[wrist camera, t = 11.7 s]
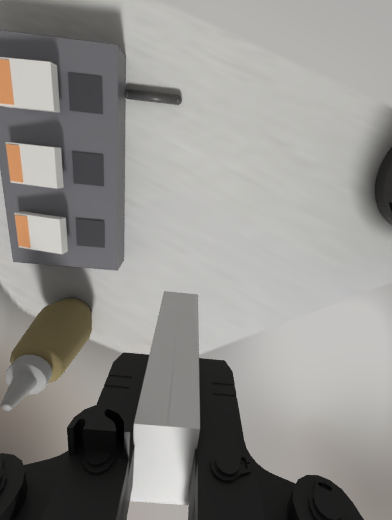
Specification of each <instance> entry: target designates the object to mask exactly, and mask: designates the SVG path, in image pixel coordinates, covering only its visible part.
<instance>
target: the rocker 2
mask: <svg viewBox="0 0 392 520" xmlns="http://www.w3.org/2000/svg"><path fill="white" fill-rule="evenodd" d="M14 214H15V222H16V230H17V237H18V245H19V247H20V248H26V249H33V250H39V251H45V252H51V253H57V254H64V253H66V252H68V246H67V230H66V218H65V217H58V216H51V215H44V214H37V213H30V212H23V211H21V212H16V213H14Z"/></svg>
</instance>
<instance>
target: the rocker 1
mask: <svg viewBox="0 0 392 520" xmlns="http://www.w3.org/2000/svg"><path fill="white" fill-rule="evenodd" d="M0 106H4V107H10V108H19V109H29V110H39V111H49V112H59V113H60V105H59V90H58V74H57V65H55V64H53V63H52V62H47V61H36V60H25V59H15V58H4V57H0Z"/></svg>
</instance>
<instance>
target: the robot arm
mask: <svg viewBox="0 0 392 520" xmlns="http://www.w3.org/2000/svg"><path fill="white" fill-rule="evenodd" d="M375 195H376V202H377V206H378V208H379V211H380V213H381V214H382V216H383V217H384V218H385V220H386V221H387V222H389V223H390V224H391V225H392V148H391V150H390V151H389V152H388V154H387V155H386V157H385V159H384V161H383V163H382V165H381V167H380V169H379V172H378V176H377V180H376V187H375ZM67 435H68V451H67V452H65V453H63V454H61V455H60V456H57V457H54V458H51V459H47V460H44V461H40V462H35V463H31V464H27V465H23V463H22V460H20V459H19V458H17V457H16V456H15V455H11V454H3V453H1V454H0V520H126V519H127V513H128V507H129V502H130V501H137V502H153V503H167V504H181V505H188V502H189V512H188V514H189V515H188V520H364V519H363V518H362V516H361V515H360V513H359V512H358V510H357V508H356V507H355V505H354V504H353V502H352V501H351V500H350V499H349V497H348V496H347V495H346V494H345V493H344V491H343V490H342V489H341V488H339V487H338V486H337V485H335V484H334V483H333V482H332V481H330V480H328V479H326V478H323V477H321V476H318V475H306V476H304V477H302V478H301V479H298V481H297V483H296V484H295V483H293V482H290V481H288V480H286V479H283V478H281V477H279V476H276V475H274V474H272V473H270V472H268V471H266V470H265V469H263V468H262V467H261V466H260V465H258V464H257V463H256V462H255V460H254V459H253V458H252V457H251V456H250V454H249V452H248V450H247V448H246V445H245V442H244V437H243V432H242V425H241V420H240V414H239V408H238V402H237V398H236V390H235V387H234V378H233V373H232V370H231V369H230V367H229V366H228V365H227V363H226V362H225V361H224V360H213V359H202V358H199V335H198V295H196V294H186V293H176V292H166V291H164V294H163V298H162V303H161V307H160V312H159V316H158V320H157V325H156V329H155V333H154V338H153V342H152V347H151V351H150V355H146V354H134V353H122V354H121V355H120V356H119V357H118V358H117V359H116V360H115V361H114V362H113V365H112V367H111V369H110V372H109V375H108V377H107V380H106V382H105V385H104V388H103V390H102V392H101V395H100V397H99V400H98V402H97V405H95V406H93V407H90V408H87V409H85V410H84V411H82V412H81V413H80V414H78V415H77V416H75V417H74V418H73V420H72V421H71V423H70V424H69V426H68V427H67Z"/></svg>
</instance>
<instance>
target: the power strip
mask: <svg viewBox="0 0 392 520" xmlns="http://www.w3.org/2000/svg"><path fill="white" fill-rule="evenodd" d="M0 57H4V58H15V59H25V60H36V61H47V62H52V63H53V64H55V65H57V74H58V90H59V105H60V113H59V112H49V111H39V110H29V109H19V108H10V107H4V106H0V170H1V177H2V184H3V192H4V199H5V206H6V213H7V221H8V228H9V235H10V242H11V250H12V257H13V262H21V263H33V264H45V265H57V266H69V267H82V268H94V269H106V270H118V269H119V267H120V266H121V264H122V263H123V261H124V202H125V98H127V99H132V100H140V101H149V102H158V103H167V104H175V105H179V104H181V102H182V99H181V97H180V96H178V95H169V94H161V93H152V92H144V91H135V90H126V56H125V55H124V53H123V52H122V50H121V49H120V47H119V46H118V45H116V44H108V43H100V42H92V41H84V40H76V39H68V38H59V37H51V36H43V35H35V34H27V33H19V32H11V31H3V30H0ZM6 142H12V143H22V144H31V145H40V146H49V147H58V148H61V155H62V170H63V186H64V188H58V189H56V188H48V187H41V186H33V185H26V184H18V183H11V181H10V174H9V166H8V158H7V150H6ZM21 211H23V212H30V213H37V214H44V215H51V216H58V217H65V218H66V230H67V246H68V252H66V253H64V254H57V253H51V252H45V251H39V250H33V249H26V248H20V247H19V245H18V237H17V230H16V222H15V214H14V213H16V212H21Z"/></svg>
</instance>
